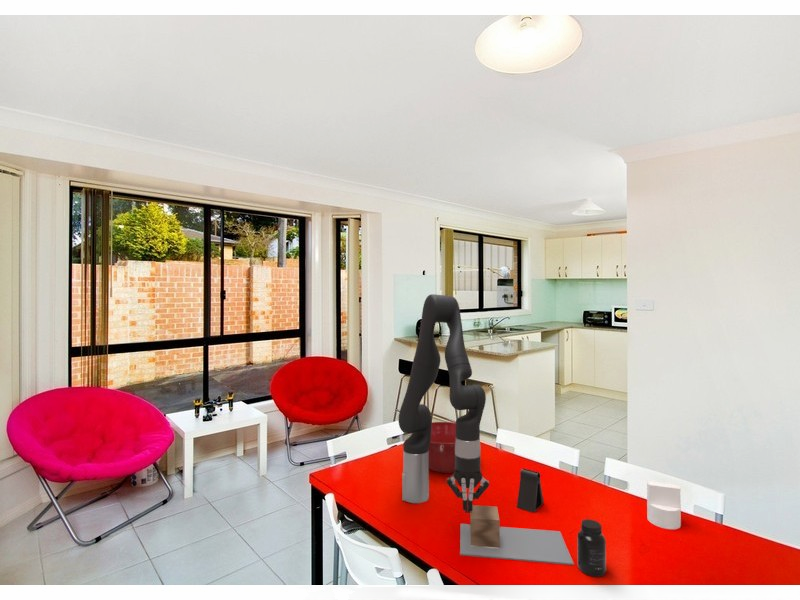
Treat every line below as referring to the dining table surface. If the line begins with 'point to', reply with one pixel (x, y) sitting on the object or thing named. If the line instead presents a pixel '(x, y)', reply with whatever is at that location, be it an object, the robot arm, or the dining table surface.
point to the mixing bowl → (442, 447)
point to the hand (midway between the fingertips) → (467, 511)
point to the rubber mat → (520, 545)
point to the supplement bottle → (591, 548)
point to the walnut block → (484, 527)
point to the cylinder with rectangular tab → (664, 505)
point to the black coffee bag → (529, 491)
